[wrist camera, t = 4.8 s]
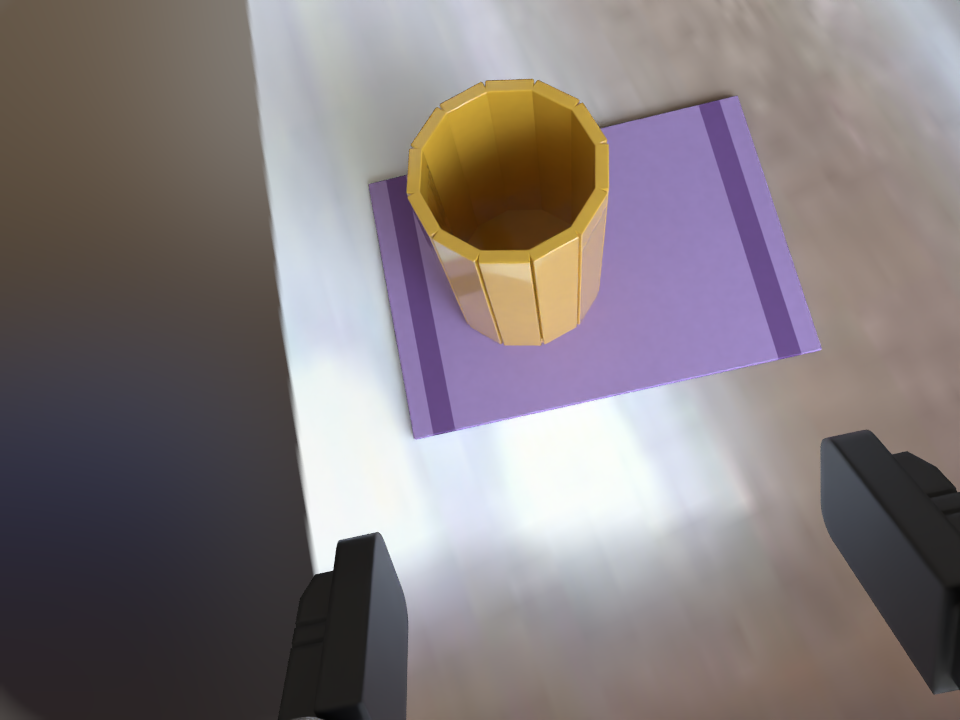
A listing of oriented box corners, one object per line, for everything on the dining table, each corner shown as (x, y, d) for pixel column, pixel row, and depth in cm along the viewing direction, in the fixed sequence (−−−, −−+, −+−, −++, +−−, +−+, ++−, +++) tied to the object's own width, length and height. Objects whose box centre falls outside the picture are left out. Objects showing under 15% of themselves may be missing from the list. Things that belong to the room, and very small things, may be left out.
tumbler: (500, 182, 35) (475, 49, 26) (626, 248, 34) (647, 131, 25) (423, 300, 34) (368, 204, 25) (550, 372, 33) (541, 299, 24)
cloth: (736, 98, 35) (737, 95, 35) (819, 350, 32) (822, 348, 32) (369, 186, 36) (368, 183, 36) (415, 439, 33) (413, 438, 33)
